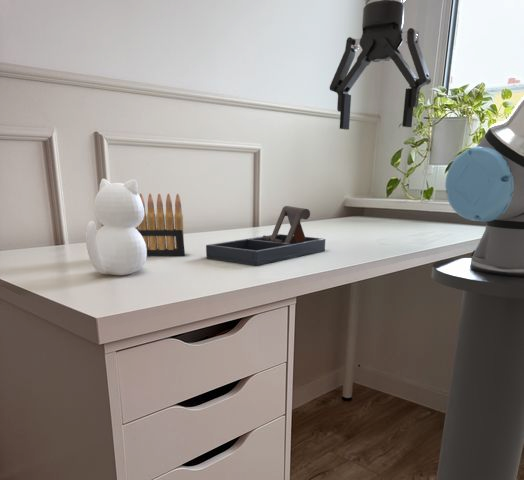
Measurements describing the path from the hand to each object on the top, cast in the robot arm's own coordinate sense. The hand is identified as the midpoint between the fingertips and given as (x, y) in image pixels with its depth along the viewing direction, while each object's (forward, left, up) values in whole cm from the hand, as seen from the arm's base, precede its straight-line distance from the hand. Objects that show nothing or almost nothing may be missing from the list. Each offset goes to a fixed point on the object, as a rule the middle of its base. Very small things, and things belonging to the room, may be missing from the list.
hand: (374, 128), depth 103 cm
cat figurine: (+21, +49, -25) cm, 59 cm away
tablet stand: (+14, +10, -24) cm, 29 cm away
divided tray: (+14, +16, -25) cm, 33 cm away
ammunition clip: (+30, +32, -25) cm, 50 cm away
